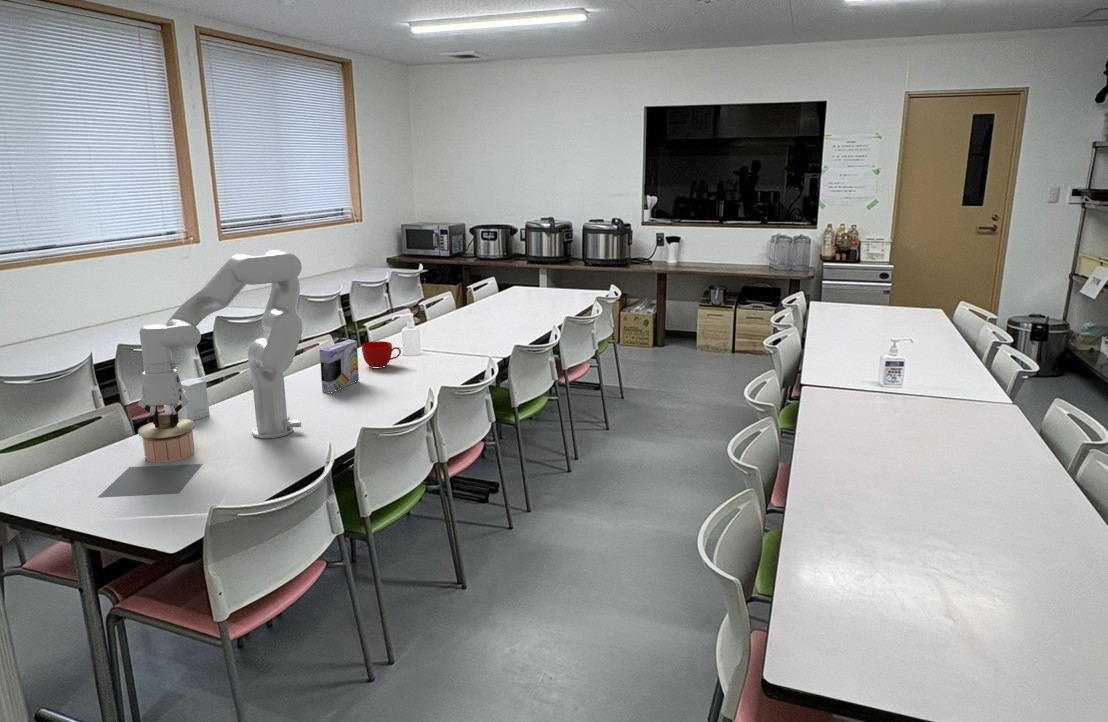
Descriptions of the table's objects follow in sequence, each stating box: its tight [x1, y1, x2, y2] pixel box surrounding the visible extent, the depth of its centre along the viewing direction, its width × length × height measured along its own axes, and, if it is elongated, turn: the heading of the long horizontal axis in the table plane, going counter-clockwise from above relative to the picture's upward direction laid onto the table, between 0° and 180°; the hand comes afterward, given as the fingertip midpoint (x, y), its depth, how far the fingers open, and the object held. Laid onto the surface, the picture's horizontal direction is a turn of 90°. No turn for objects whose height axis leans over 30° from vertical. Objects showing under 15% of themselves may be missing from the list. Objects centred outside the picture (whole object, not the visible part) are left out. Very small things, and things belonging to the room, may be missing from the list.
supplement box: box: [181, 377, 210, 421], centre depth 250 cm, size 7×7×13 cm
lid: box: [137, 411, 196, 439], centre depth 214 cm, size 15×15×5 cm
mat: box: [97, 463, 203, 498], centre depth 199 cm, size 20×20×1 cm
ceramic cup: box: [361, 340, 402, 368], centre depth 317 cm, size 13×17×10 cm
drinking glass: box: [163, 389, 188, 419], centre depth 231 cm, size 7×7×15 cm
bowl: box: [141, 430, 196, 464], centre depth 216 cm, size 13×13×7 cm
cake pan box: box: [319, 338, 360, 394], centre depth 285 cm, size 19×5×18 cm, turn 158°
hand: (166, 425), depth 215 cm, fingers closed on lid, 3 cm apart
